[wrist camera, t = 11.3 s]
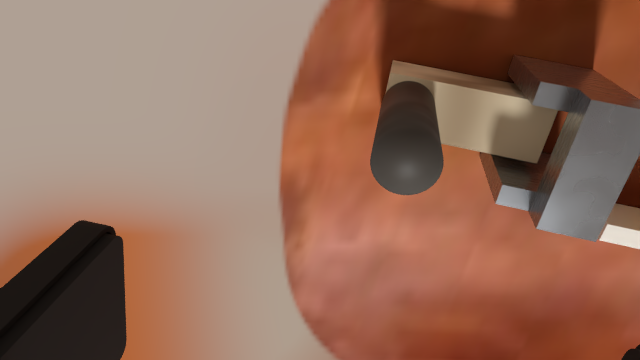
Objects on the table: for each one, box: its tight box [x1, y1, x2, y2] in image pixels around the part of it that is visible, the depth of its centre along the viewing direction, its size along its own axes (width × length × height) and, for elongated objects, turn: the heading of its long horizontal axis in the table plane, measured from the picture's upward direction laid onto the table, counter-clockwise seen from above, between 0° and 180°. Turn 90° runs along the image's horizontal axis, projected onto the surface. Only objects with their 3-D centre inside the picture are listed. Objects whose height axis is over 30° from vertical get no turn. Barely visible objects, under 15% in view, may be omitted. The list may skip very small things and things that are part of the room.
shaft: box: [370, 60, 558, 195], centre depth 21 cm, size 8×3×10 cm, turn 81°
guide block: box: [480, 55, 640, 242], centre depth 22 cm, size 4×6×7 cm
